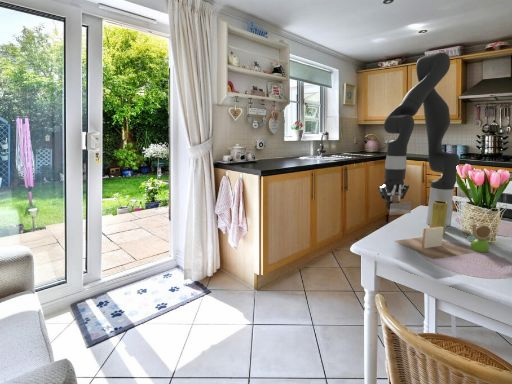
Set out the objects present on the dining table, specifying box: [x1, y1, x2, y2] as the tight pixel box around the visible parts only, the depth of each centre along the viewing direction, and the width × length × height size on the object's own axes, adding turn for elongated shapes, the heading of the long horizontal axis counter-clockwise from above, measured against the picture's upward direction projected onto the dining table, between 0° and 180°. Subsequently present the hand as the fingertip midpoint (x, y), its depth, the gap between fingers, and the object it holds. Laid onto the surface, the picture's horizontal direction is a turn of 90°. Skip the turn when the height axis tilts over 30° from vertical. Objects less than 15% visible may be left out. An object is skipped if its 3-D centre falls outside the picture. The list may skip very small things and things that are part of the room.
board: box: [394, 236, 474, 260], centre depth 115 cm, size 18×18×2 cm
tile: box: [422, 226, 444, 248], centre depth 114 cm, size 8×1×7 cm, turn 109°
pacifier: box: [466, 228, 477, 243], centre depth 122 cm, size 7×6×6 cm
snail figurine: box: [470, 220, 491, 253], centre depth 111 cm, size 5×6×12 cm
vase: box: [429, 201, 448, 235], centre depth 130 cm, size 6×6×14 cm
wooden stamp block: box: [386, 194, 412, 216], centre depth 126 cm, size 6×10×7 cm, turn 109°
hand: (392, 209), depth 128 cm, fingers closed on wooden stamp block, 2 cm apart
